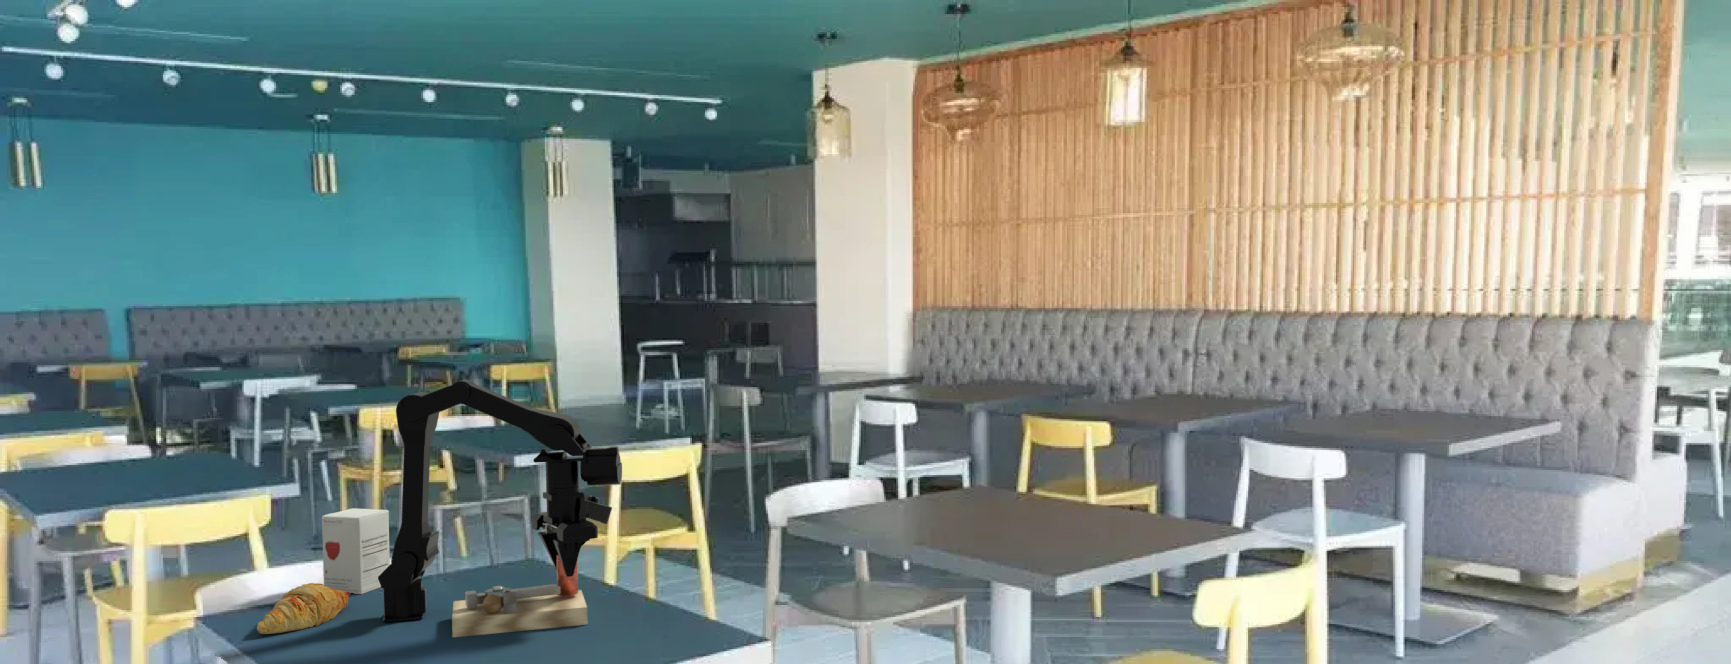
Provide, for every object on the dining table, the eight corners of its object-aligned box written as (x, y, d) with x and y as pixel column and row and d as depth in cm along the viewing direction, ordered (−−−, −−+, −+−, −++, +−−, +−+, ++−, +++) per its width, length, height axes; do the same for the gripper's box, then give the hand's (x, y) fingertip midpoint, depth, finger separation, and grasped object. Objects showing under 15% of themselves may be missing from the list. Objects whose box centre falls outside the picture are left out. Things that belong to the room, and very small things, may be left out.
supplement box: (321, 592, 237) (319, 515, 236) (354, 581, 246) (351, 507, 245) (361, 594, 234) (358, 517, 234) (392, 583, 243) (389, 508, 242)
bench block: (452, 637, 204) (451, 601, 203) (454, 617, 216) (453, 584, 216) (587, 624, 210) (586, 589, 210) (581, 606, 223) (580, 573, 222)
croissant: (274, 660, 205) (291, 620, 203) (229, 629, 207) (245, 589, 206) (359, 623, 225) (375, 587, 224) (318, 595, 227) (333, 559, 226)
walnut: (482, 616, 205) (482, 597, 205) (482, 611, 208) (482, 593, 208) (502, 614, 206) (502, 595, 206) (502, 609, 209) (501, 591, 209)
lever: (468, 609, 208) (467, 567, 208) (464, 603, 212) (463, 562, 212) (580, 595, 216) (579, 555, 216) (575, 590, 220) (574, 550, 220)
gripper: (624, 487, 214) (627, 576, 214) (588, 477, 230) (590, 560, 230) (562, 493, 208) (565, 585, 208) (529, 482, 224) (531, 567, 224)
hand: (565, 573), depth 218 cm, fingers open, 5 cm apart
